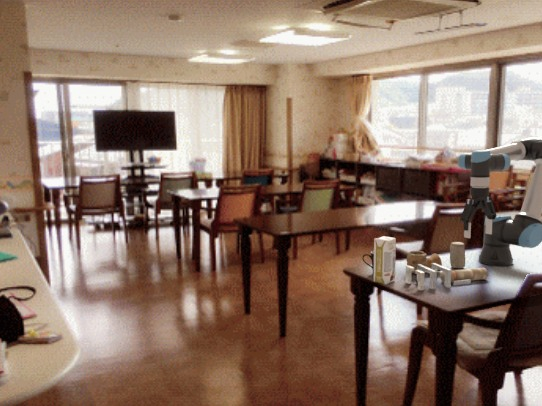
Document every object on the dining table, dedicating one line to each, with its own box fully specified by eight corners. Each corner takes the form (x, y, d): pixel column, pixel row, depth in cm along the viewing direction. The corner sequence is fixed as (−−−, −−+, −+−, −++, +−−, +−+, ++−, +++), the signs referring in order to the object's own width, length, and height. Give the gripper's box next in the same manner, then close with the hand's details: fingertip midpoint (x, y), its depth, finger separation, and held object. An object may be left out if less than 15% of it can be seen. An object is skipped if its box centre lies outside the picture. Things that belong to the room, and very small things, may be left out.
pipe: (445, 274, 221) (445, 252, 220) (414, 277, 216) (414, 255, 215) (432, 269, 230) (433, 248, 228) (402, 272, 225) (403, 251, 224)
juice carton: (397, 281, 211) (398, 237, 209) (386, 285, 206) (387, 240, 203) (382, 277, 217) (382, 235, 214) (371, 281, 211) (371, 238, 208)
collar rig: (455, 277, 216) (456, 261, 215) (472, 284, 205) (473, 267, 204) (405, 282, 209) (405, 265, 208) (420, 290, 198) (420, 272, 197)
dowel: (479, 277, 215) (480, 266, 215) (487, 280, 211) (488, 269, 210) (440, 281, 210) (440, 270, 209) (447, 284, 205) (447, 273, 205)
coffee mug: (393, 273, 223) (393, 252, 221) (383, 277, 216) (384, 255, 215) (371, 269, 230) (371, 248, 229) (361, 273, 224) (361, 251, 223)
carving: (455, 265, 236) (456, 240, 234) (468, 268, 229) (469, 243, 228) (446, 266, 233) (446, 242, 231) (458, 270, 226) (459, 245, 225)
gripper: (491, 184, 218) (489, 230, 221) (452, 188, 206) (450, 237, 209) (506, 185, 212) (504, 233, 215) (466, 190, 200) (465, 241, 203)
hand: (478, 235), depth 212 cm, fingers open, 13 cm apart
